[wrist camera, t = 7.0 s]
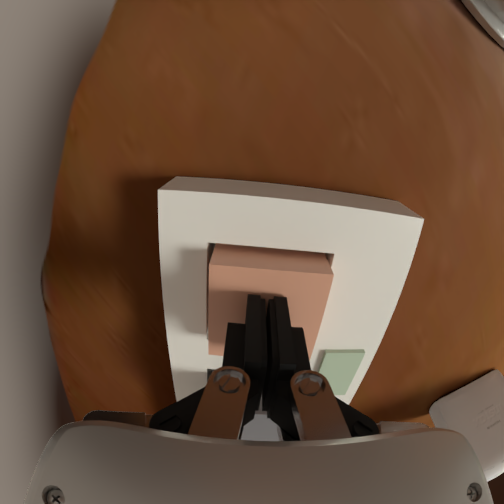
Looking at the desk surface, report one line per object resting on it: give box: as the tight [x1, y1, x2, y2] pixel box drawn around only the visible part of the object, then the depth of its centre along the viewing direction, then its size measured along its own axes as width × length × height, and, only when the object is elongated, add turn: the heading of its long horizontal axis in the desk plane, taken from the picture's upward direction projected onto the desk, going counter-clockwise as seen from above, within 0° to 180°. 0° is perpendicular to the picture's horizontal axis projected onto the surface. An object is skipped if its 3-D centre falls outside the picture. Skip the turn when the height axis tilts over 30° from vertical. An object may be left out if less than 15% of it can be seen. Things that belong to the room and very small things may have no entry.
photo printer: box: [429, 369, 504, 482], centre depth 17 cm, size 10×4×12 cm, turn 107°
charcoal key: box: [212, 369, 279, 441], centre depth 16 cm, size 5×5×3 cm
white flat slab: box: [158, 176, 424, 405], centre depth 18 cm, size 26×12×3 cm, turn 175°
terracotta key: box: [208, 243, 334, 361], centre depth 14 cm, size 5×5×3 cm
